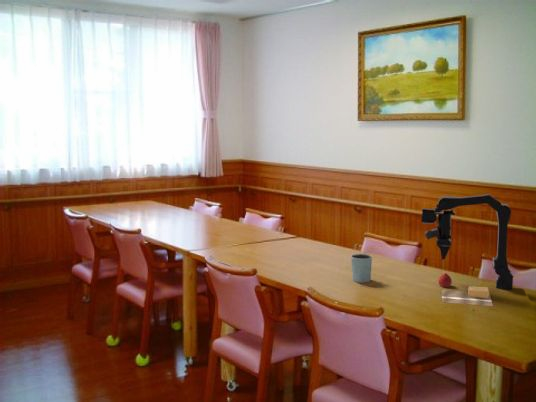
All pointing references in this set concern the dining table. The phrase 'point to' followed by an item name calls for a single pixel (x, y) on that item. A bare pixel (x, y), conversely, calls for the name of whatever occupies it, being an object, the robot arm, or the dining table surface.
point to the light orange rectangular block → (478, 292)
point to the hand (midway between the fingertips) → (443, 257)
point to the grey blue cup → (361, 267)
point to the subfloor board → (464, 298)
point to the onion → (445, 280)
